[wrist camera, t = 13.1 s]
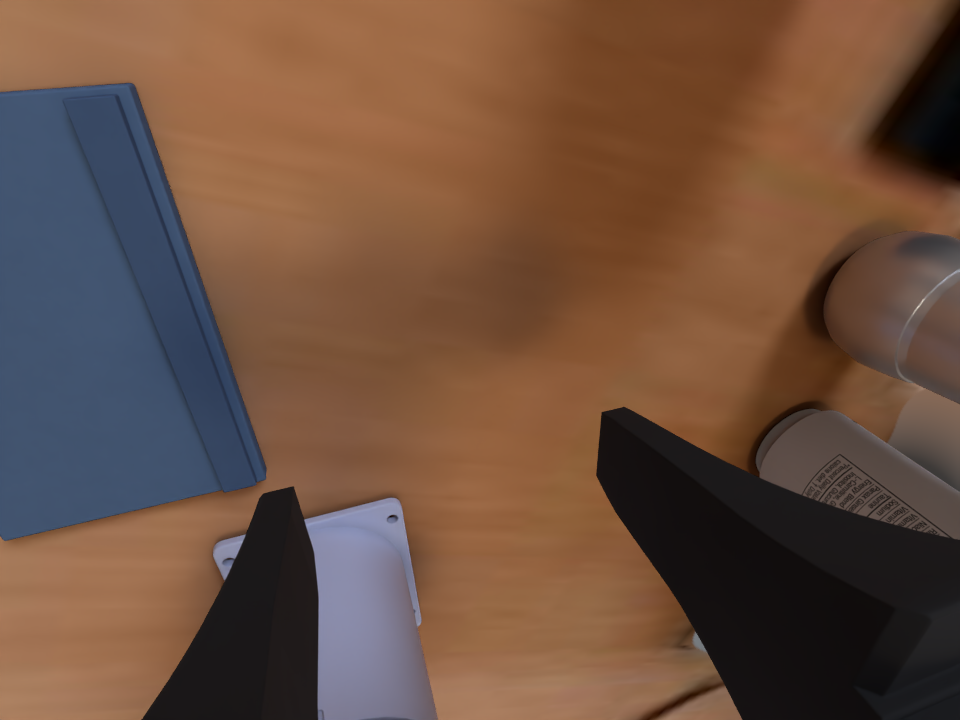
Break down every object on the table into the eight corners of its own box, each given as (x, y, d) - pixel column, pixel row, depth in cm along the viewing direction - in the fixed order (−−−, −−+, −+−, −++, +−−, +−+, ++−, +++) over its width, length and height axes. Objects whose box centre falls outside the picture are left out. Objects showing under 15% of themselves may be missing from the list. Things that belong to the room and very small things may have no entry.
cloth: (267, 468, 22) (266, 487, 21) (11, 527, 20) (-2, 551, 19) (134, 82, 15) (124, 85, 14) (-293, 112, 13) (-338, 118, 12)
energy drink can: (802, 481, 34) (1092, 728, 22) (731, 484, 32) (1008, 760, 20) (852, 402, 32) (1212, 632, 19) (778, 398, 30) (1131, 656, 17)
